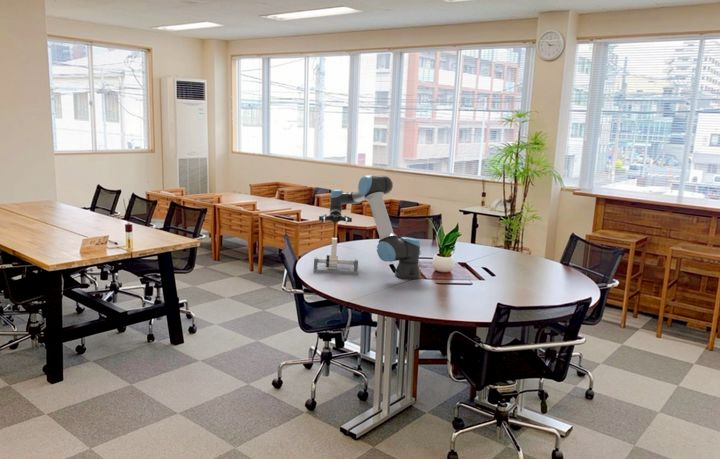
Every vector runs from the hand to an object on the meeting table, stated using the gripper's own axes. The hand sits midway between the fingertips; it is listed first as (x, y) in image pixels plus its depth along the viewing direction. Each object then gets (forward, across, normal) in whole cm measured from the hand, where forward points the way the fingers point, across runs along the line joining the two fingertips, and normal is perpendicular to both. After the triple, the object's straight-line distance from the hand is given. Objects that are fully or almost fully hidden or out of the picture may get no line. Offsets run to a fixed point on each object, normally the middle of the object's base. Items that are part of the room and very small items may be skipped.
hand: (335, 221), depth 353 cm
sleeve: (+10, 0, -26) cm, 28 cm away
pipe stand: (+10, -2, -29) cm, 30 cm away
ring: (+10, +3, -26) cm, 28 cm away
